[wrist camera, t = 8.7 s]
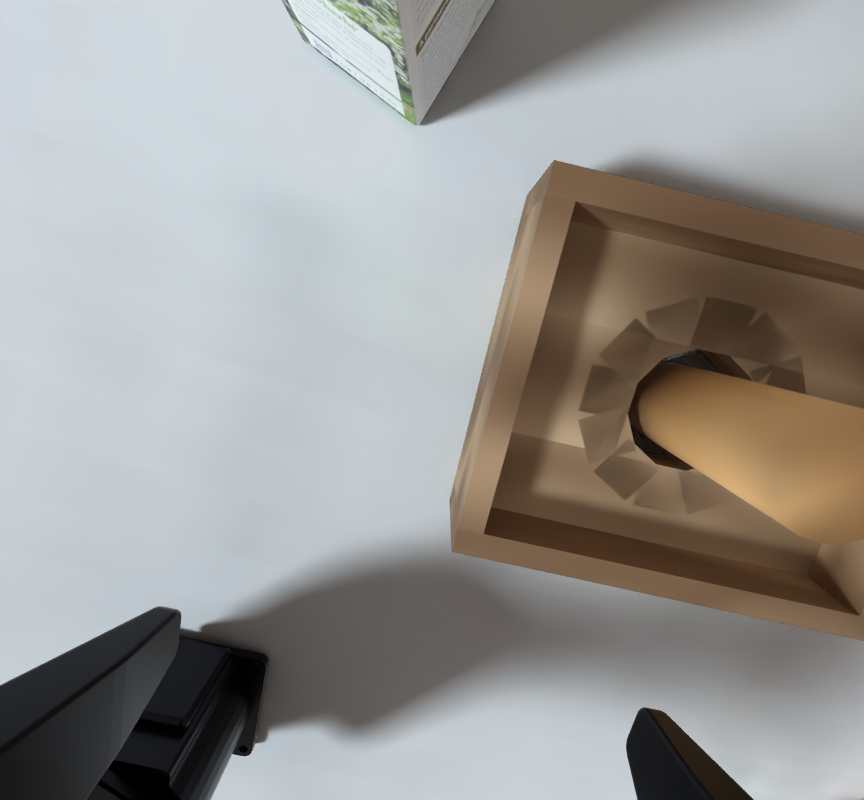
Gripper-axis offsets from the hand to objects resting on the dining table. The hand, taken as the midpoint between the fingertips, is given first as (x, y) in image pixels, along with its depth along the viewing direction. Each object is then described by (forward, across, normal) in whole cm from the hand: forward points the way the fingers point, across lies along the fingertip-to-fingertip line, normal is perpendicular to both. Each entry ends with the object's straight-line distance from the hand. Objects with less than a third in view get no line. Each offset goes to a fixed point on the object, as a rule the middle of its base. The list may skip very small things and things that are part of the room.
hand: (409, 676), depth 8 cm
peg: (+12, -10, -5) cm, 17 cm away
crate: (+12, -10, -5) cm, 17 cm away
